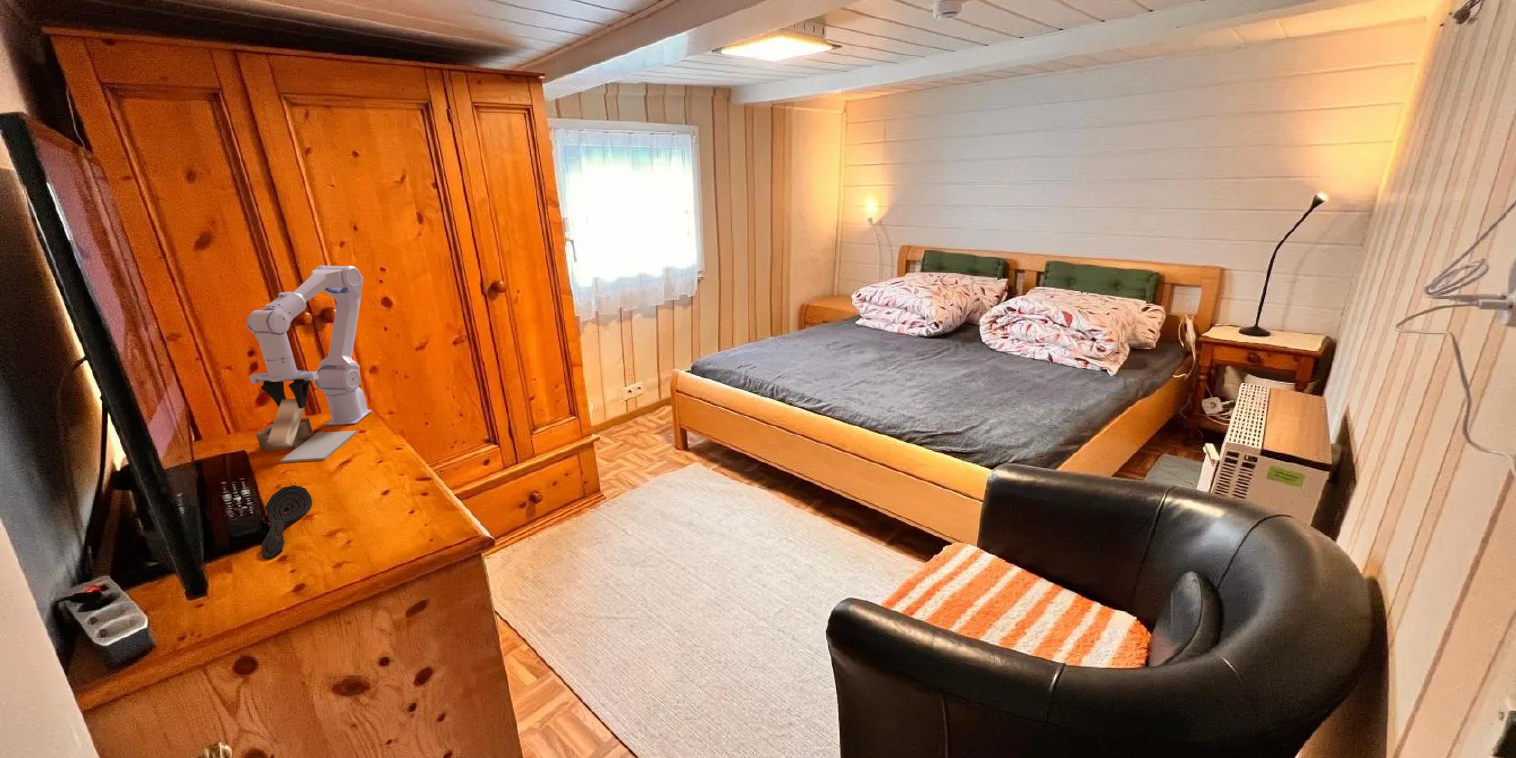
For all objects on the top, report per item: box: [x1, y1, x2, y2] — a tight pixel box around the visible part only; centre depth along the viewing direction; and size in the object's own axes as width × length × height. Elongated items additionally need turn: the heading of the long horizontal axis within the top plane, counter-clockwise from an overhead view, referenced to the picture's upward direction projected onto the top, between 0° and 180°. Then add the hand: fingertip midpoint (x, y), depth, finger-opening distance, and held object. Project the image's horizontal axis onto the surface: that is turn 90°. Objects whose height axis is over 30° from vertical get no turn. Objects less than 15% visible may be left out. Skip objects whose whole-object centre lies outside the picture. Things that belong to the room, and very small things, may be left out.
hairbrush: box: [260, 482, 313, 560], centre depth 118 cm, size 8×4×25 cm
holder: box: [255, 417, 314, 452], centre depth 153 cm, size 8×8×5 cm
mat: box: [280, 430, 358, 464], centre depth 152 cm, size 16×10×1 cm, turn 8°
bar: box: [267, 398, 305, 447], centre depth 148 cm, size 12×4×3 cm
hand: (293, 407), depth 150 cm, fingers closed on bar, 4 cm apart
